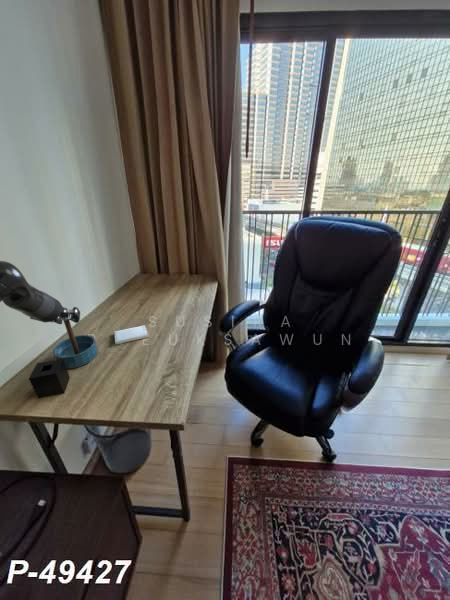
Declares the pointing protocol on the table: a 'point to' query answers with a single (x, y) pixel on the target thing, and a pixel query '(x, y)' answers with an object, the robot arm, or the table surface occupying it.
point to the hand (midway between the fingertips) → (69, 320)
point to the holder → (49, 378)
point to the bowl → (67, 353)
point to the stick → (71, 336)
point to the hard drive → (130, 334)
